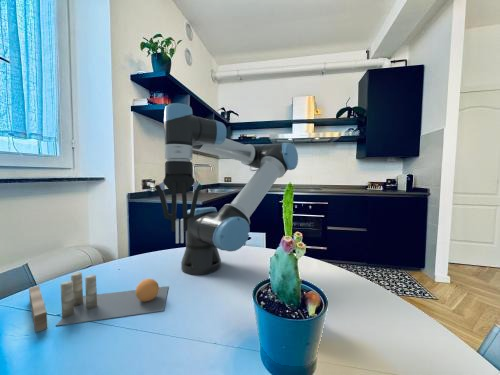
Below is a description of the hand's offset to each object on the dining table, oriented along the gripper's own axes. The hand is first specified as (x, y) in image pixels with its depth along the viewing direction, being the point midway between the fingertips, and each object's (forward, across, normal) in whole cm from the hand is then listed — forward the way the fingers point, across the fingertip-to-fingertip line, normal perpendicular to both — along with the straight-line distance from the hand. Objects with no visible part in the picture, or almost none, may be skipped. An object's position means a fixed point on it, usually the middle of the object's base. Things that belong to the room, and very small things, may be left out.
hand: (179, 241), depth 65 cm
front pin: (+16, -23, 0) cm, 28 cm away
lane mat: (+16, -16, 0) cm, 23 cm away
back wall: (+16, -35, 0) cm, 39 cm away
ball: (+13, -9, 0) cm, 16 cm away
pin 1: (+16, -27, -2) cm, 32 cm away
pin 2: (+16, -27, +2) cm, 32 cm away
